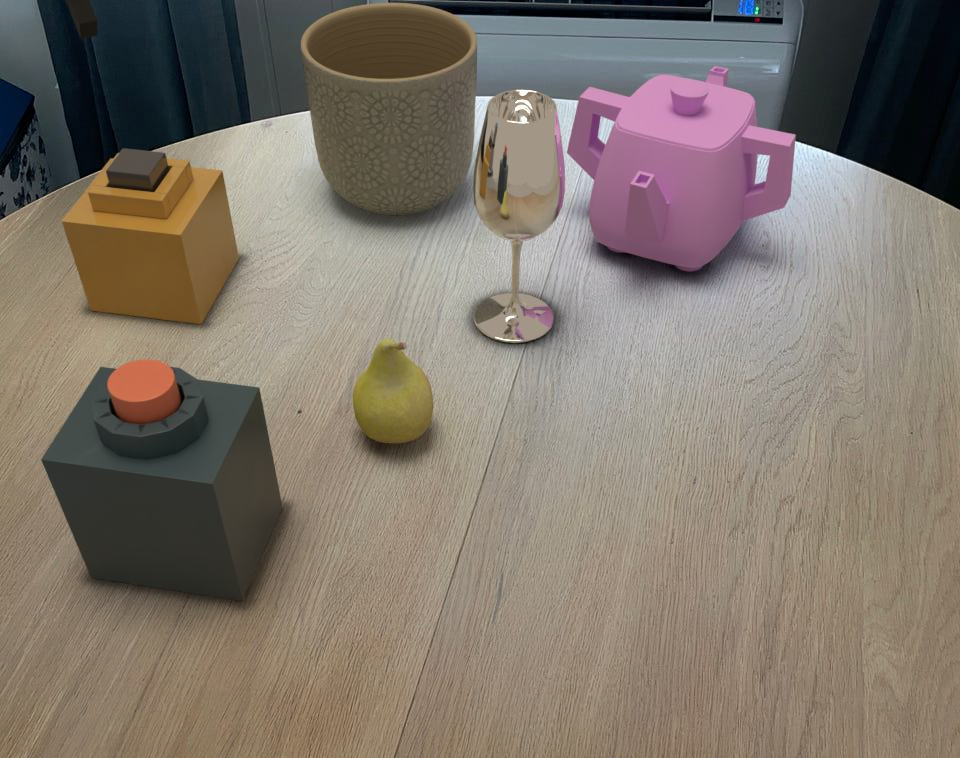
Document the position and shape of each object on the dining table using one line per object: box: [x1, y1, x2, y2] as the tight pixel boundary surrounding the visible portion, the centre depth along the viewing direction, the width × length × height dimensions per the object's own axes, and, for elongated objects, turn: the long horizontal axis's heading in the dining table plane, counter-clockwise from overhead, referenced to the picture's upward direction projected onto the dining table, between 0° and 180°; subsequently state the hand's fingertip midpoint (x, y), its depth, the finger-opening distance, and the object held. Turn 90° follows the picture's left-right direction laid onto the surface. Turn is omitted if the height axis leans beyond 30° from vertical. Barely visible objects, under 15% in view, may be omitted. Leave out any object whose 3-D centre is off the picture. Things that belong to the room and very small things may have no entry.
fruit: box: [352, 338, 435, 444], centre depth 86 cm, size 7×8×12 cm
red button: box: [107, 359, 181, 425], centre depth 72 cm, size 4×4×2 cm
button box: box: [40, 366, 283, 602], centre depth 78 cm, size 12×10×14 cm
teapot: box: [566, 65, 797, 272], centre depth 104 cm, size 19×18×15 cm
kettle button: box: [106, 147, 169, 192], centre depth 95 cm, size 4×4×2 cm
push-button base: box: [61, 152, 240, 325], centre depth 100 cm, size 11×11×11 cm
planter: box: [300, 2, 478, 216], centre depth 109 cm, size 17×17×15 cm
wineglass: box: [472, 89, 566, 344], centre depth 93 cm, size 8×8×20 cm
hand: (88, 29), depth 92 cm, fingers closed
